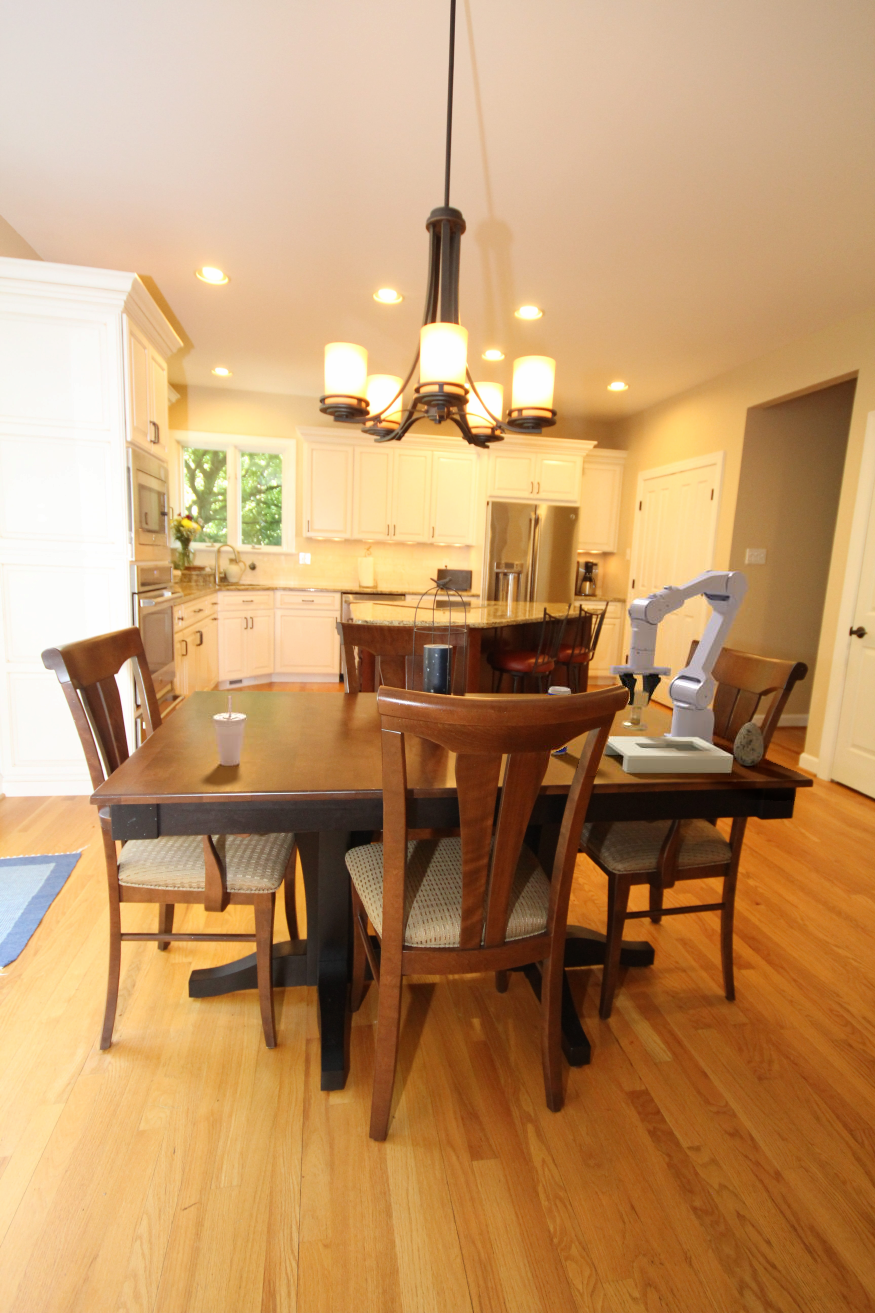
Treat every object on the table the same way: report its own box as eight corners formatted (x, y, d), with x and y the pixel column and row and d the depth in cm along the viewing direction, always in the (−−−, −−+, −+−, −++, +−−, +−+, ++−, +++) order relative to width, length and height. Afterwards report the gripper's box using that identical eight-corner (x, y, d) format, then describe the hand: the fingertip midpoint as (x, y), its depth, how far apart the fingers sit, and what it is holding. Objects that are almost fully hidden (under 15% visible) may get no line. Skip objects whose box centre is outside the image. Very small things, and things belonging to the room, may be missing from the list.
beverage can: (565, 749, 143) (570, 687, 140) (567, 756, 138) (572, 691, 135) (542, 747, 143) (547, 685, 141) (544, 754, 138) (549, 690, 136)
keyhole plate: (695, 752, 145) (697, 737, 145) (731, 772, 132) (733, 755, 131) (600, 752, 142) (601, 736, 141) (626, 772, 128) (628, 755, 128)
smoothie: (214, 769, 118) (214, 699, 116) (211, 759, 124) (211, 692, 122) (248, 766, 121) (248, 697, 119) (244, 756, 127) (244, 691, 125)
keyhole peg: (640, 724, 151) (644, 689, 149) (651, 731, 145) (656, 694, 143) (617, 723, 150) (621, 688, 149) (628, 730, 144) (632, 693, 143)
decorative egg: (750, 760, 141) (755, 719, 139) (766, 769, 135) (772, 726, 133) (726, 760, 140) (731, 718, 138) (742, 769, 134) (747, 725, 133)
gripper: (620, 650, 140) (615, 708, 142) (679, 652, 141) (673, 708, 144) (608, 646, 146) (603, 701, 149) (664, 647, 148) (659, 701, 150)
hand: (636, 704), depth 147 cm, fingers closed on keyhole peg, 3 cm apart
